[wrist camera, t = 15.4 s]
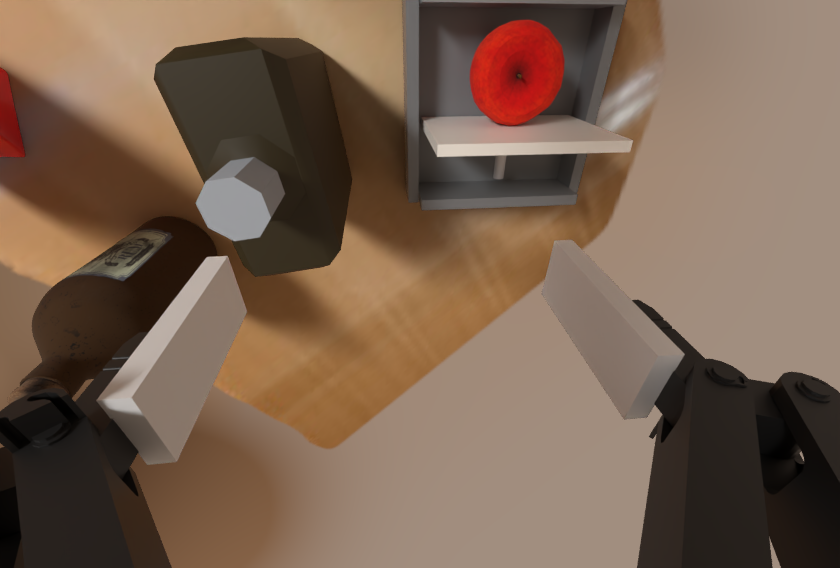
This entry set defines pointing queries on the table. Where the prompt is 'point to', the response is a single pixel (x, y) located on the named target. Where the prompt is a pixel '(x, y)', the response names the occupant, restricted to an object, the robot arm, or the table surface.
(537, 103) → the apple
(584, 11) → the grey tray
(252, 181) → the bottle
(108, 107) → the table surface
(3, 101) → the vase
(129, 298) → the olive oil
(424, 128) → the plate
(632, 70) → the table surface
